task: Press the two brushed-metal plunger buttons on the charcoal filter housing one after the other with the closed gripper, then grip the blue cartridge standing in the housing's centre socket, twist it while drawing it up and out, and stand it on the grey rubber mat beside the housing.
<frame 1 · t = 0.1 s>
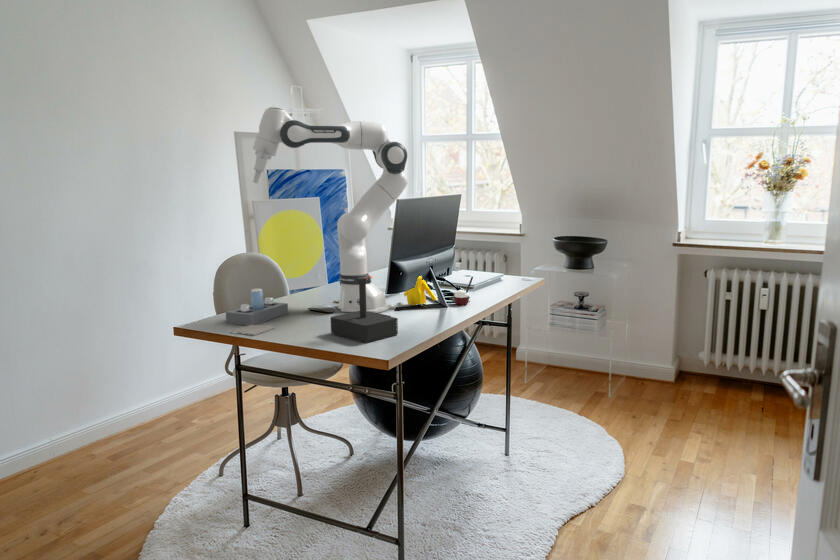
hand: (255, 182, 246), 52 cm above the table, tool tilted 20°, fingers open, 8 cm apart
plunger b: (245, 310, 240), point 4 cm above the table, slide at 0.0 cm
black post stand: (366, 335, 220), on the table
plunger a: (269, 303, 252), point 4 cm above the table, slide at 0.0 cm
housing: (258, 317, 247), on the table
mat: (252, 330, 226), on the table
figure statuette: (417, 305, 266), on the table
cocoa: (461, 305, 265), on the table
cartridge: (257, 303, 246), in the housing
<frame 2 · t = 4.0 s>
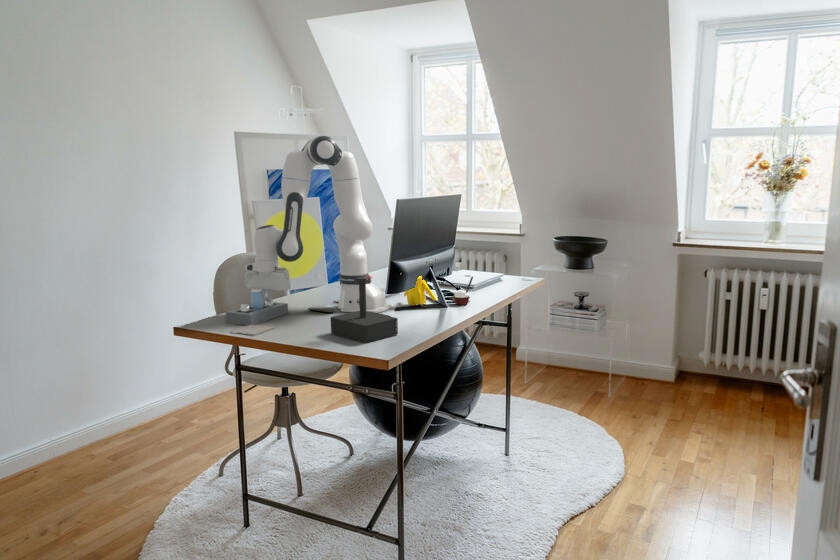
hand: (268, 300, 252), 5 cm above the table, tool pointing down, fingers closed, pressing on plunger a
plunger a: (269, 306, 252), point 3 cm above the table, slide at 1.1 cm, touching gripper
everything else where it was.
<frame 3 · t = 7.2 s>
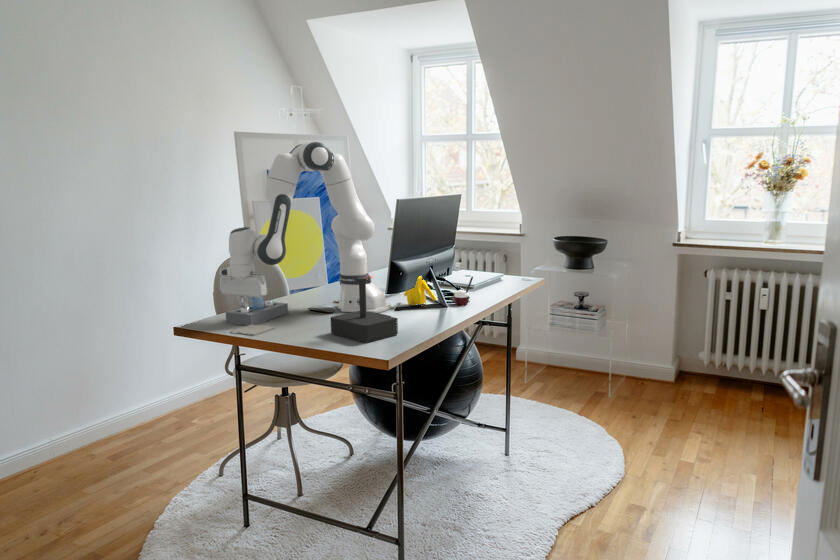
hand: (244, 307, 239), 6 cm above the table, tool pointing down, fingers closed, pressing on plunger b
plunger b: (245, 312, 240), point 3 cm above the table, slide at 0.9 cm, touching gripper
plunger a: (269, 306, 252), point 3 cm above the table, slide at 1.3 cm
everything else where it was.
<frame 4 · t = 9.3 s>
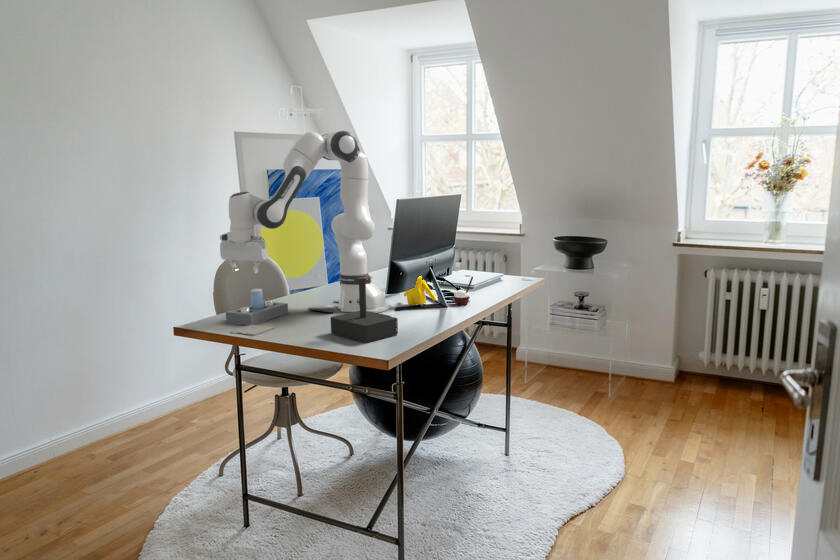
hand: (245, 272, 238), 19 cm above the table, tool pointing down, fingers open, 8 cm apart
plunger b: (245, 313, 240), point 3 cm above the table, slide at 1.2 cm
everything else where it was.
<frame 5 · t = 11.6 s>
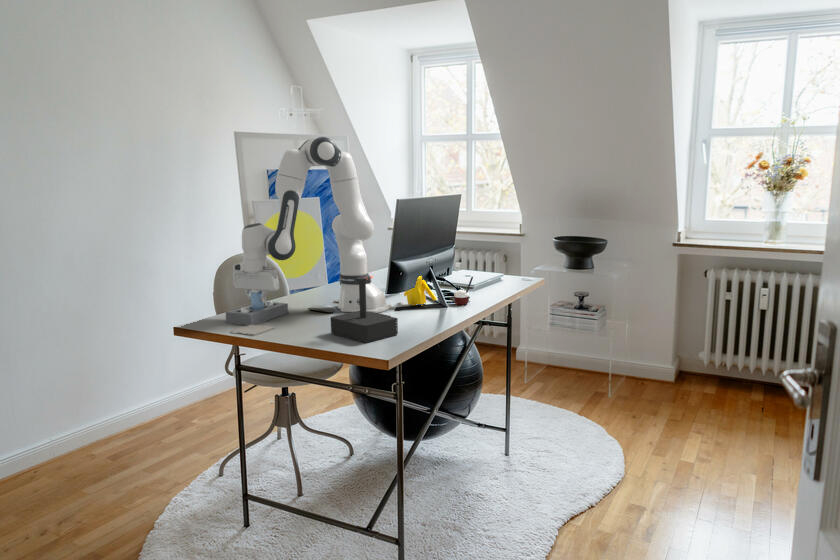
hand: (257, 301, 246), 7 cm above the table, tool pointing down, fingers closed on cartridge, 5 cm apart
cartridge: (257, 303, 246), in the housing, touching gripper
everything else where it was.
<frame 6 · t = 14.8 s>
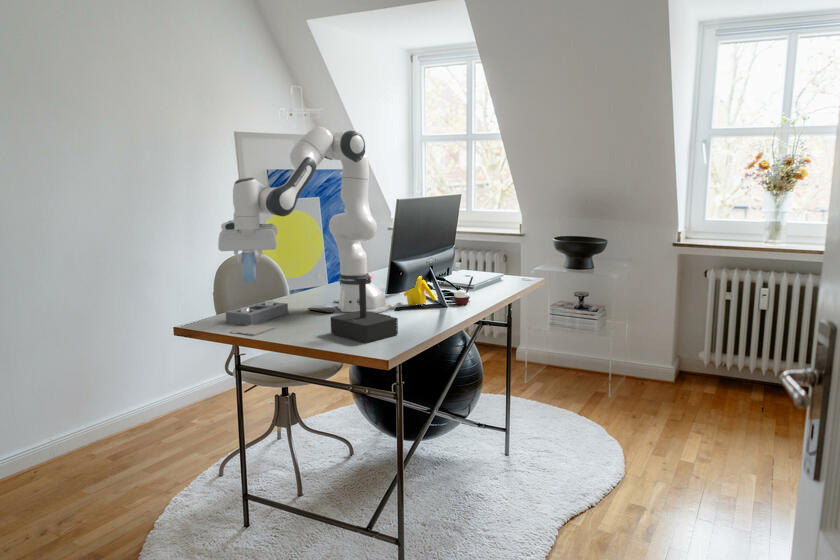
hand: (248, 262, 226), 24 cm above the table, tool pointing down, fingers closed on cartridge, 5 cm apart
cartridge: (248, 265, 227), point 23 cm above the table, touching gripper
everything else where it was.
when the fingers open (9 cm above the table, at t = 18.3 s): cartridge drops 2 cm, resting on mat.
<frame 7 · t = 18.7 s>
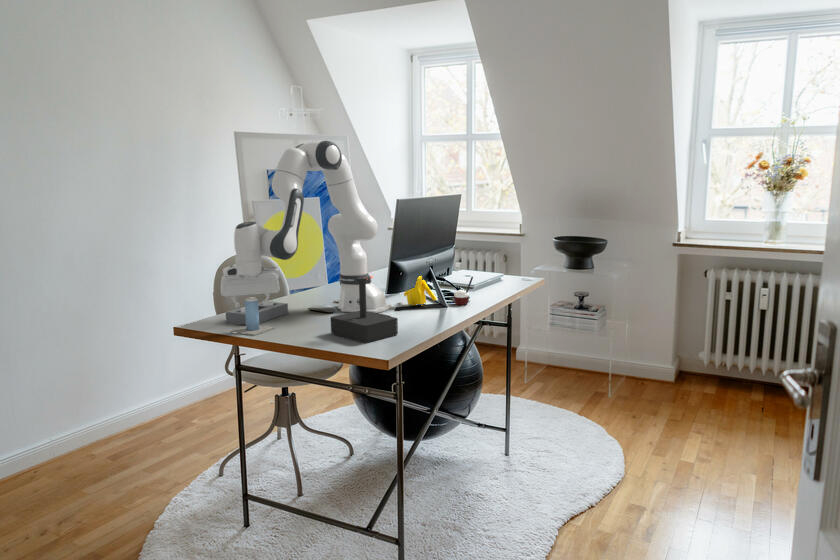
hand: (251, 306, 225), 9 cm above the table, tool pointing down, fingers open, 8 cm apart
cartridge: (252, 313, 225), on the mat
everything else where it was.
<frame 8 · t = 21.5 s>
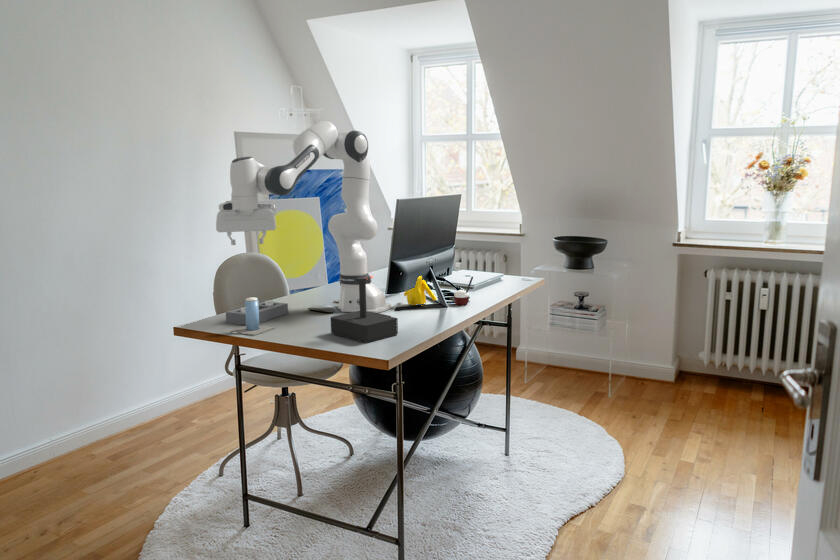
hand: (247, 244, 221), 31 cm above the table, tool pointing down, fingers open, 8 cm apart
nothing on the table moved.
at the end: cartridge inside the target area on the mat (0.1 cm from its centre), point 6.1 cm above the mat's base; plunger a slide at 1.3 cm; plunger b slide at 1.2 cm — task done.
